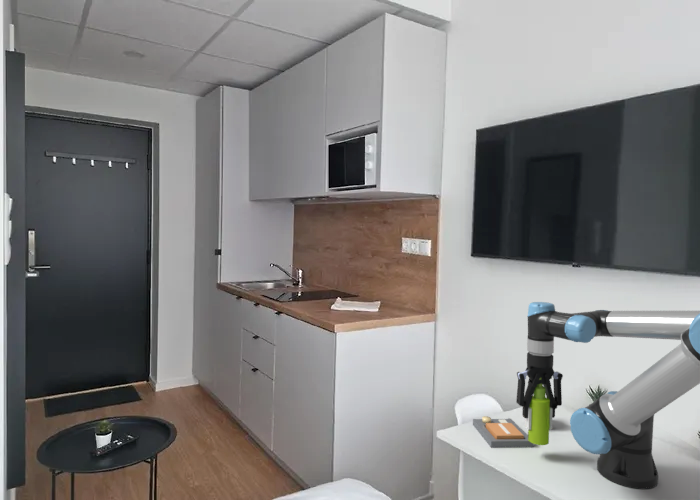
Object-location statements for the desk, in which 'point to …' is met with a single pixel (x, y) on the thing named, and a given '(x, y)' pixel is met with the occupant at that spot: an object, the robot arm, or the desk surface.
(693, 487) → the desk surface
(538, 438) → the soap dispenser
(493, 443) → the grey tray
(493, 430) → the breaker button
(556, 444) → the desk surface
